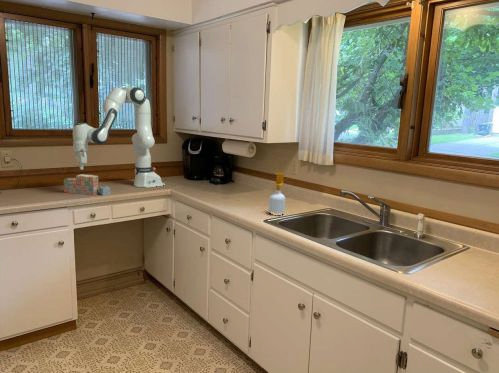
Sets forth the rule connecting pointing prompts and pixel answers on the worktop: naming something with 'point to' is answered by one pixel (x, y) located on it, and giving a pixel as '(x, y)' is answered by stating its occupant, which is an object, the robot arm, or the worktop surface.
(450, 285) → the worktop surface
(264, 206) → the worktop surface
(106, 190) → the slate cube
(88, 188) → the stack of blocks
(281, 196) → the soap bottle
